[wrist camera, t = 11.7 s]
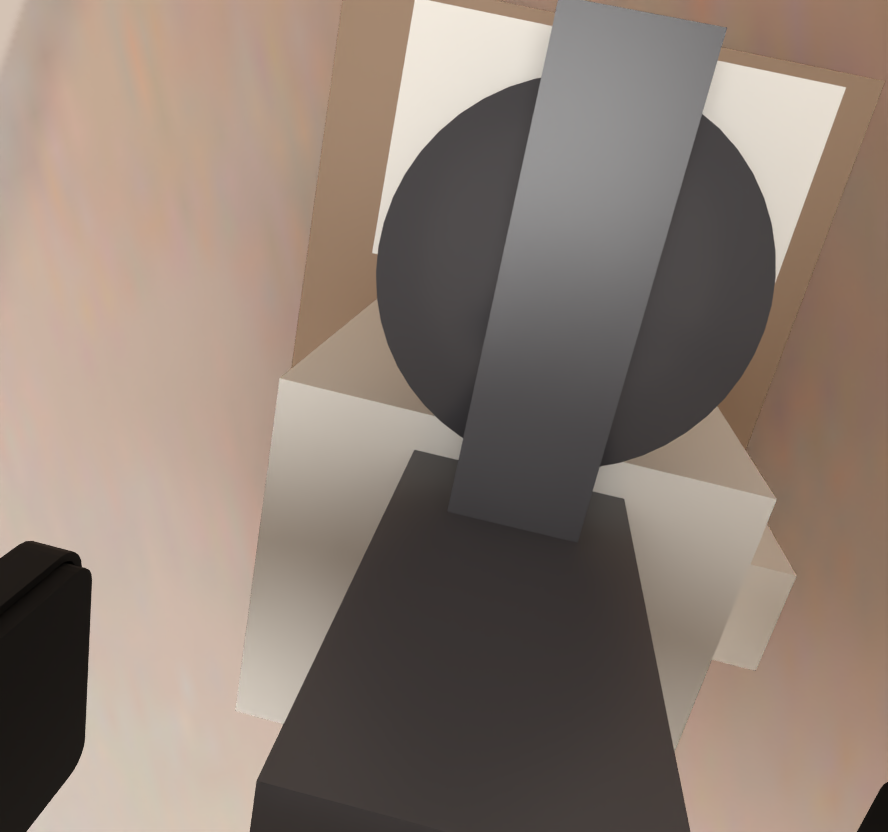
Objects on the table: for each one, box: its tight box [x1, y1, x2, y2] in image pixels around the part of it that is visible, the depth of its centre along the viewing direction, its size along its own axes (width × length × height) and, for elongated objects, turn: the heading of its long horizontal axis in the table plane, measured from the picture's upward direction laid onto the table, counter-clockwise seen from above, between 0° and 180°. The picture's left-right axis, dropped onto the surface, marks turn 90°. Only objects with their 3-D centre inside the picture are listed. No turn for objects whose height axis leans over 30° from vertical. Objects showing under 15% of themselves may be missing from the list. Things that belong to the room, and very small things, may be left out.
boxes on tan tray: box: [235, 0, 885, 752], centre depth 16 cm, size 12×19×10 cm, turn 168°
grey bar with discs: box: [250, 0, 776, 832], centre depth 9 cm, size 5×16×6 cm, turn 169°
